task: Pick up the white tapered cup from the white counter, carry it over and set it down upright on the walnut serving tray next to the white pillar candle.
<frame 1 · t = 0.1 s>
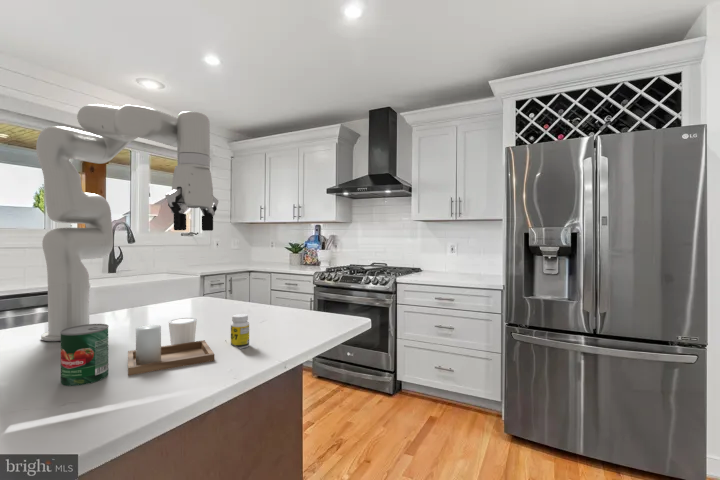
hand: (194, 230, 94), 31 cm above the countertop, tool pointing down, fingers open, 9 cm apart
supplement bottle: (240, 347, 99), on the countertop
canned tomato: (85, 382, 76), on the countertop
white pillar candle: (148, 362, 85), point 1 cm above the countertop, touching walnut tray
white tapered cup: (183, 347, 99), on the countertop
walnut tray: (170, 362, 87), on the countertop
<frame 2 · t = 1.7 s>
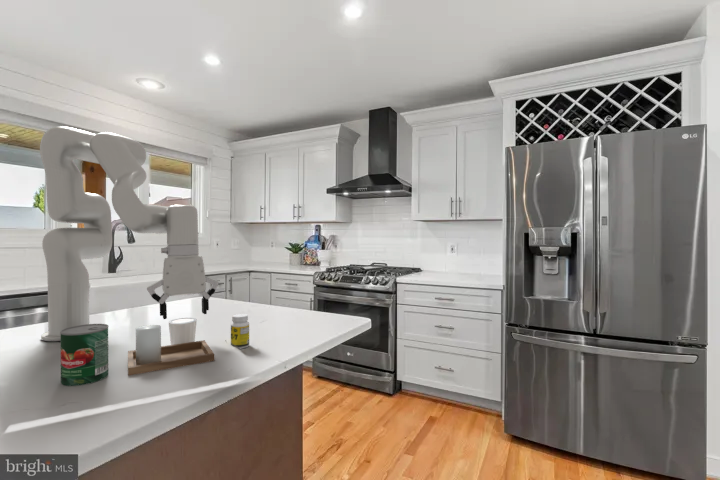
hand: (185, 315, 99), 8 cm above the countertop, tool pointing down, fingers open, 9 cm apart
nothing on the countertop moved.
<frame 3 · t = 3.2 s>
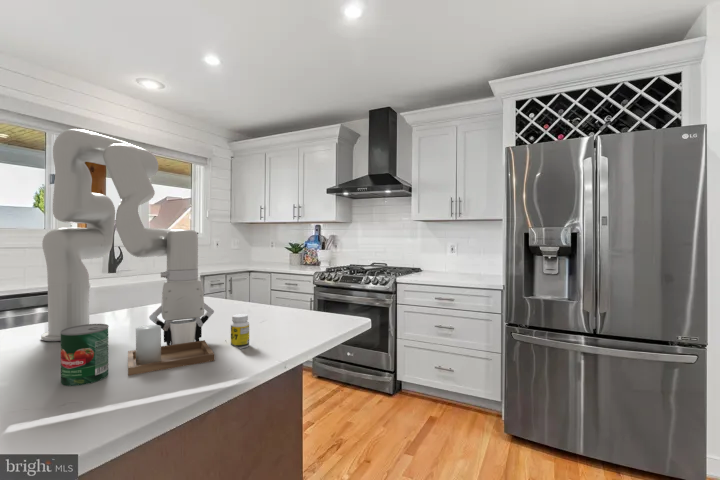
hand: (183, 341, 99), 1 cm above the countertop, tool pointing down, fingers closed on white tapered cup, 6 cm apart
white tapered cup: (183, 346, 99), on the countertop, touching gripper
everything else where it was.
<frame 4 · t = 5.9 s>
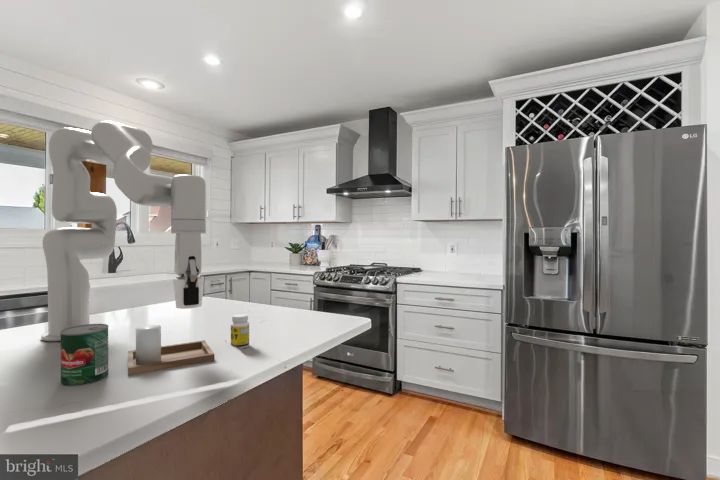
hand: (189, 301, 89), 14 cm above the countertop, tool pointing down, fingers closed on white tapered cup, 6 cm apart
white tapered cup: (189, 307, 89), point 13 cm above the countertop, touching gripper
everything else where it was.
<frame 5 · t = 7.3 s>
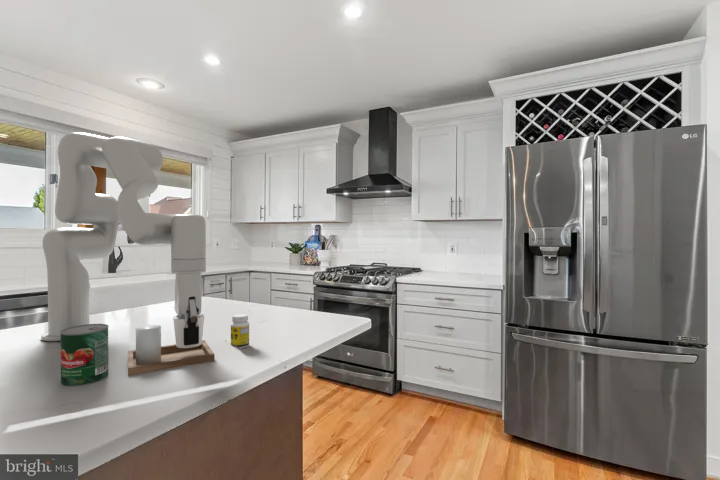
hand: (189, 339, 89), 5 cm above the countertop, tool pointing down, fingers closed on white tapered cup, 6 cm apart
white tapered cup: (189, 345, 89), point 3 cm above the countertop, touching gripper
everything else where it was.
when the fingers open (3 cm above the countertop, at t = 8.6 s): white tapered cup drops 1 cm, resting on walnut tray.
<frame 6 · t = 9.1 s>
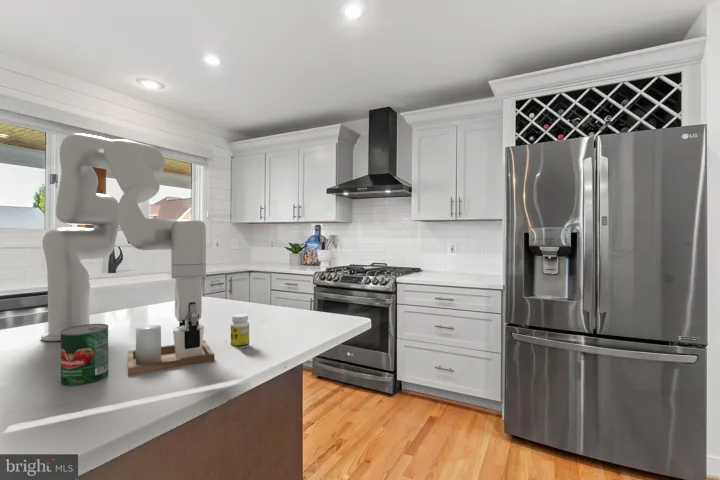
hand: (189, 342, 89), 4 cm above the countertop, tool pointing down, fingers open, 9 cm apart
white tapered cup: (189, 357, 89), point 1 cm above the countertop, touching walnut tray
everything else where it was.
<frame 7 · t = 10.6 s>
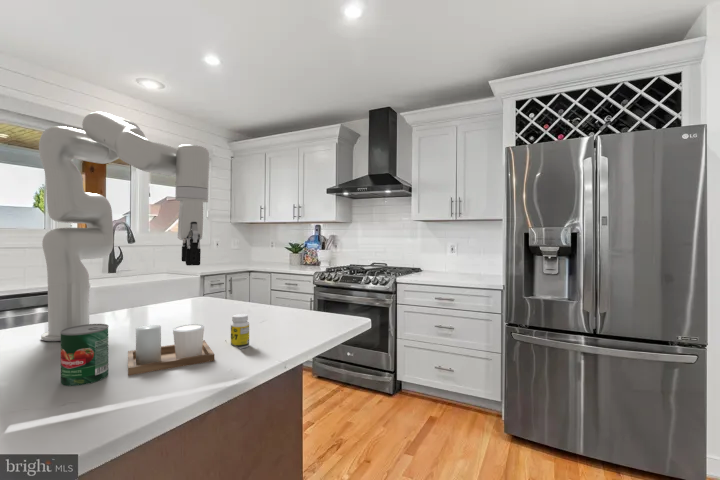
hand: (190, 263, 94), 23 cm above the countertop, tool pointing down, fingers open, 9 cm apart
nothing on the countertop moved.
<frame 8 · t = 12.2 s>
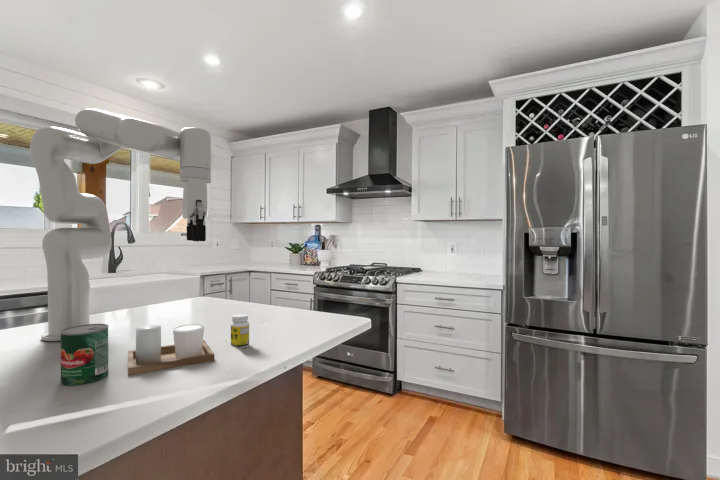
hand: (195, 240, 99), 28 cm above the countertop, tool pointing down, fingers open, 9 cm apart
nothing on the countertop moved.
at the end: white tapered cup inside the target area on the walnut tray (3.9 cm from its centre), point 0.6 cm above the walnut tray's base; white tapered cup tilted 0°; the gripper is holding nothing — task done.
